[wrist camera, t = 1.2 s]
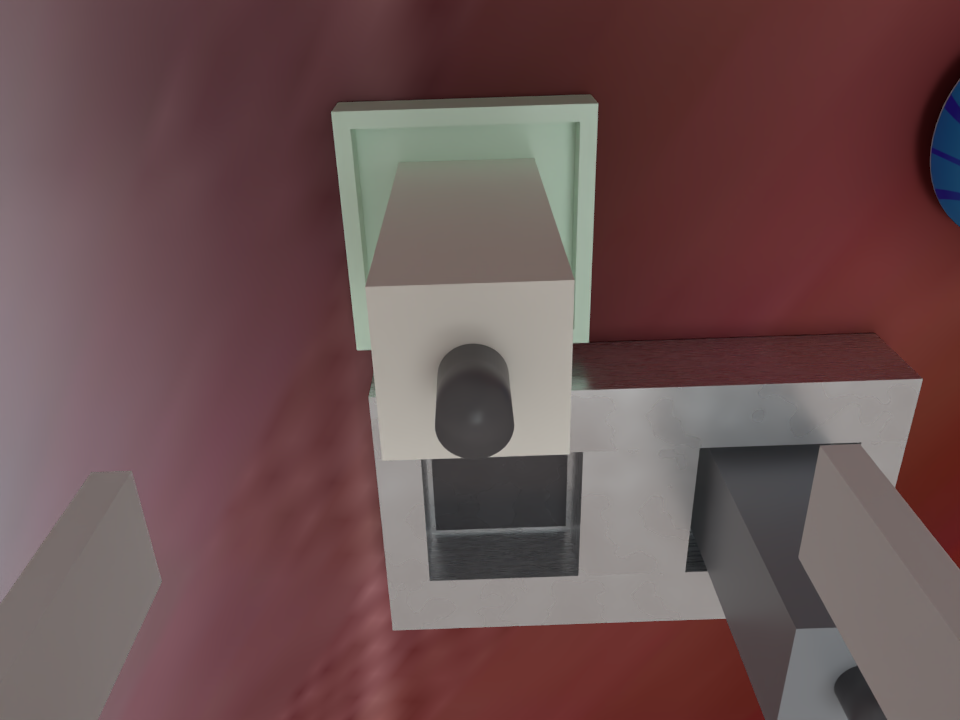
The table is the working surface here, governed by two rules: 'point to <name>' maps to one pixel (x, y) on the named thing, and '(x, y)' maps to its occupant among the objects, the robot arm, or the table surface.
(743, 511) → the twin plug
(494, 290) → the plug
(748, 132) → the table surface
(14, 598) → the robot arm
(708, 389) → the metal socket frame
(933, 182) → the beer can
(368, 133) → the tray
